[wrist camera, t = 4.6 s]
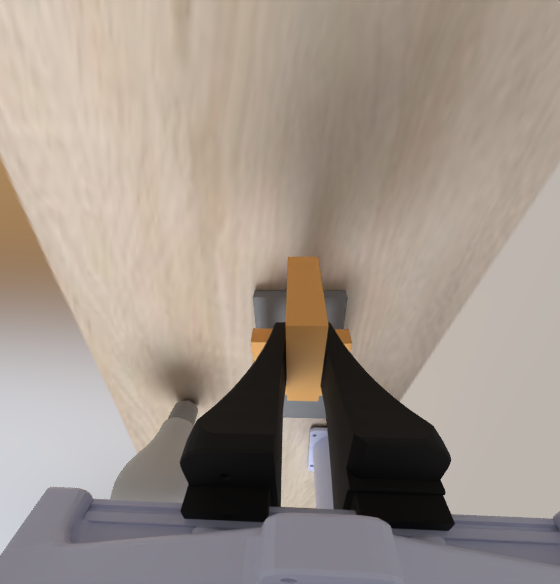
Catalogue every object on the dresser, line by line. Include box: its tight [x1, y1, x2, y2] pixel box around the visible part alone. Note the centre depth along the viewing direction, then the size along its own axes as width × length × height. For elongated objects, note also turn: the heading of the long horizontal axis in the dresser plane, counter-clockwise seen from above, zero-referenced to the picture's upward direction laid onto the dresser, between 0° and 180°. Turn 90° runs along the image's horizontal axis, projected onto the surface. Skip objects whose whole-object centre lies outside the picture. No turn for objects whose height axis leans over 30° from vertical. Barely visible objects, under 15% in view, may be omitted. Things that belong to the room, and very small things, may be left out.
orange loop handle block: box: [251, 257, 352, 401], centre depth 15 cm, size 12×6×5 cm, turn 1°
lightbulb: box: [110, 400, 198, 503], centre depth 23 cm, size 6×6×11 cm
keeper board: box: [253, 291, 347, 418], centre depth 21 cm, size 15×7×6 cm, turn 1°
